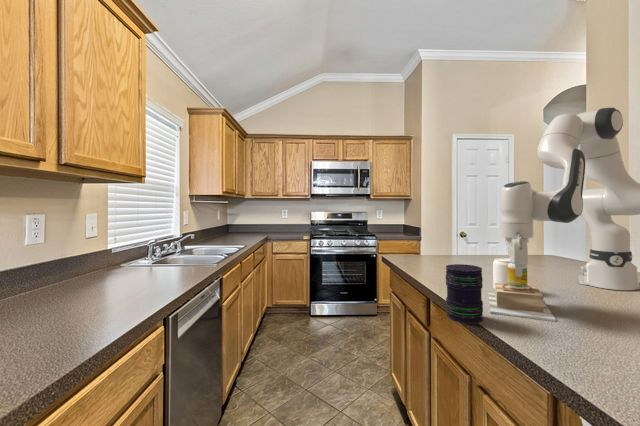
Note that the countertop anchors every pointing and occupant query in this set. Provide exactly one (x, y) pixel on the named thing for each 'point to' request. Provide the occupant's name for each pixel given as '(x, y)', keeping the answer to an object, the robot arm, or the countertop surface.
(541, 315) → the stand
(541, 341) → the countertop surface
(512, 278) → the supplement bottle
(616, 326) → the countertop surface
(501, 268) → the beverage can
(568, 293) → the countertop surface
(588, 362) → the countertop surface
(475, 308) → the storage jar
